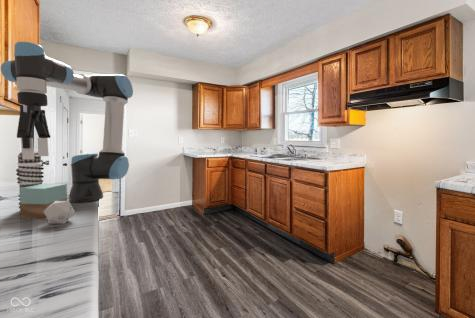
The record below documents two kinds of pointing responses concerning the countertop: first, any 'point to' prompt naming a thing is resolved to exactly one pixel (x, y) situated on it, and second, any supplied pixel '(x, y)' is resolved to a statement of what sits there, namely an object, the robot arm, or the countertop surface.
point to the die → (59, 212)
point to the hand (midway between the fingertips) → (36, 157)
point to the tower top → (43, 193)
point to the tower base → (34, 210)
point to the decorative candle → (29, 171)
